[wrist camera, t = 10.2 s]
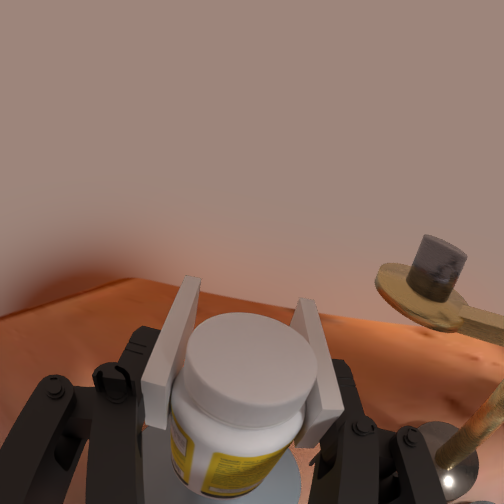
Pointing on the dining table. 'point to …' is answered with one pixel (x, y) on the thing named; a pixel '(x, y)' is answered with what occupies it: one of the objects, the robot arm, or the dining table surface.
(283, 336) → the supplement bottle
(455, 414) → the dining table surface
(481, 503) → the glossy grey puck
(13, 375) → the dining table surface
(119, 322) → the dining table surface
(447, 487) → the balance
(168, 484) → the dish low
